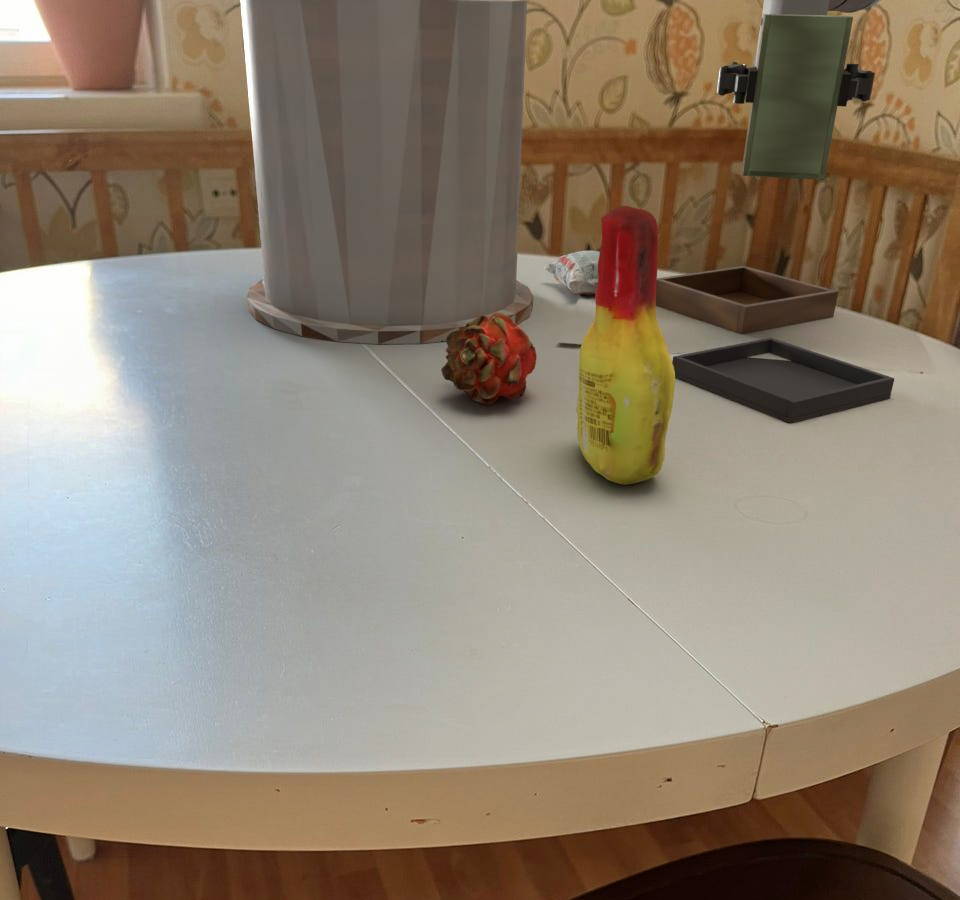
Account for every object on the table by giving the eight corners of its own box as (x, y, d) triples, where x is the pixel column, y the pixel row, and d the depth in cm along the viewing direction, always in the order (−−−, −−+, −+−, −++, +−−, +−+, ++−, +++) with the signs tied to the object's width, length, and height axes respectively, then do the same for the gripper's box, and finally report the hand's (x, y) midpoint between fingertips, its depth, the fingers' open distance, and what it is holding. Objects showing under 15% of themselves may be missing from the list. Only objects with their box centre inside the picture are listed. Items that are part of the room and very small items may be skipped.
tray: (890, 398, 103) (895, 378, 102) (790, 423, 96) (794, 402, 95) (767, 355, 114) (770, 337, 113) (670, 375, 107) (672, 356, 106)
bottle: (555, 443, 90) (570, 195, 80) (625, 439, 92) (649, 193, 81) (599, 499, 80) (623, 224, 70) (677, 493, 82) (712, 222, 71)
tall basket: (819, 169, 111) (846, 15, 104) (824, 179, 104) (853, 16, 97) (742, 165, 112) (763, 13, 105) (742, 175, 106) (765, 14, 98)
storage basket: (311, 360, 109) (287, -4, 92) (210, 286, 135) (178, -9, 118) (588, 322, 124) (612, 3, 107) (450, 262, 150) (452, -2, 133)
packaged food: (567, 304, 131) (570, 263, 128) (542, 282, 141) (545, 244, 138) (633, 303, 133) (638, 263, 130) (604, 282, 142) (608, 243, 140)
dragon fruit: (469, 436, 96) (488, 411, 107) (547, 385, 93) (559, 366, 104) (417, 355, 94) (441, 339, 104) (495, 301, 91) (512, 290, 102)
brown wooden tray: (832, 321, 127) (838, 291, 125) (740, 339, 119) (745, 307, 117) (739, 293, 138) (743, 265, 136) (650, 308, 130) (653, 278, 128)
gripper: (876, 115, 119) (902, 136, 100) (692, 107, 123) (683, 127, 104) (891, 39, 115) (921, 47, 96) (700, 34, 119) (692, 40, 100)
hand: (797, 88), depth 100 cm, fingers closed on tall basket, 8 cm apart
